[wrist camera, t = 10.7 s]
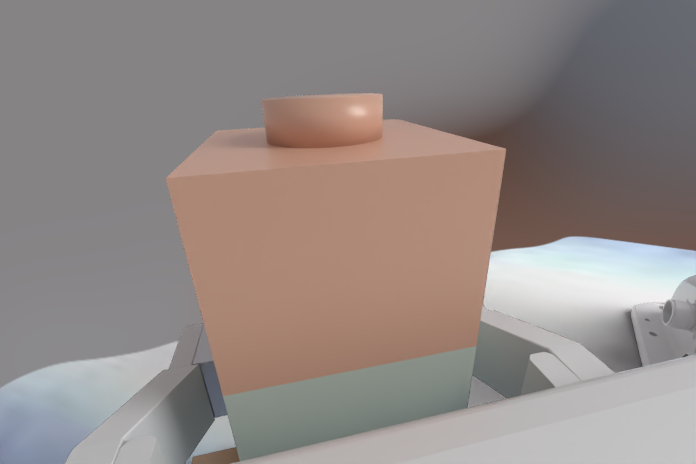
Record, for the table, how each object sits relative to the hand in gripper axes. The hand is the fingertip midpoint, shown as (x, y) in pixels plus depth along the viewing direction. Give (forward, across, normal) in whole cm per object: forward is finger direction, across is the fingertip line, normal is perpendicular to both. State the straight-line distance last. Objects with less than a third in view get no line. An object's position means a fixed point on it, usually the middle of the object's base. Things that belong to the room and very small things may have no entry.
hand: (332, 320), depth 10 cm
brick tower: (-1, 0, +6) cm, 7 cm away
